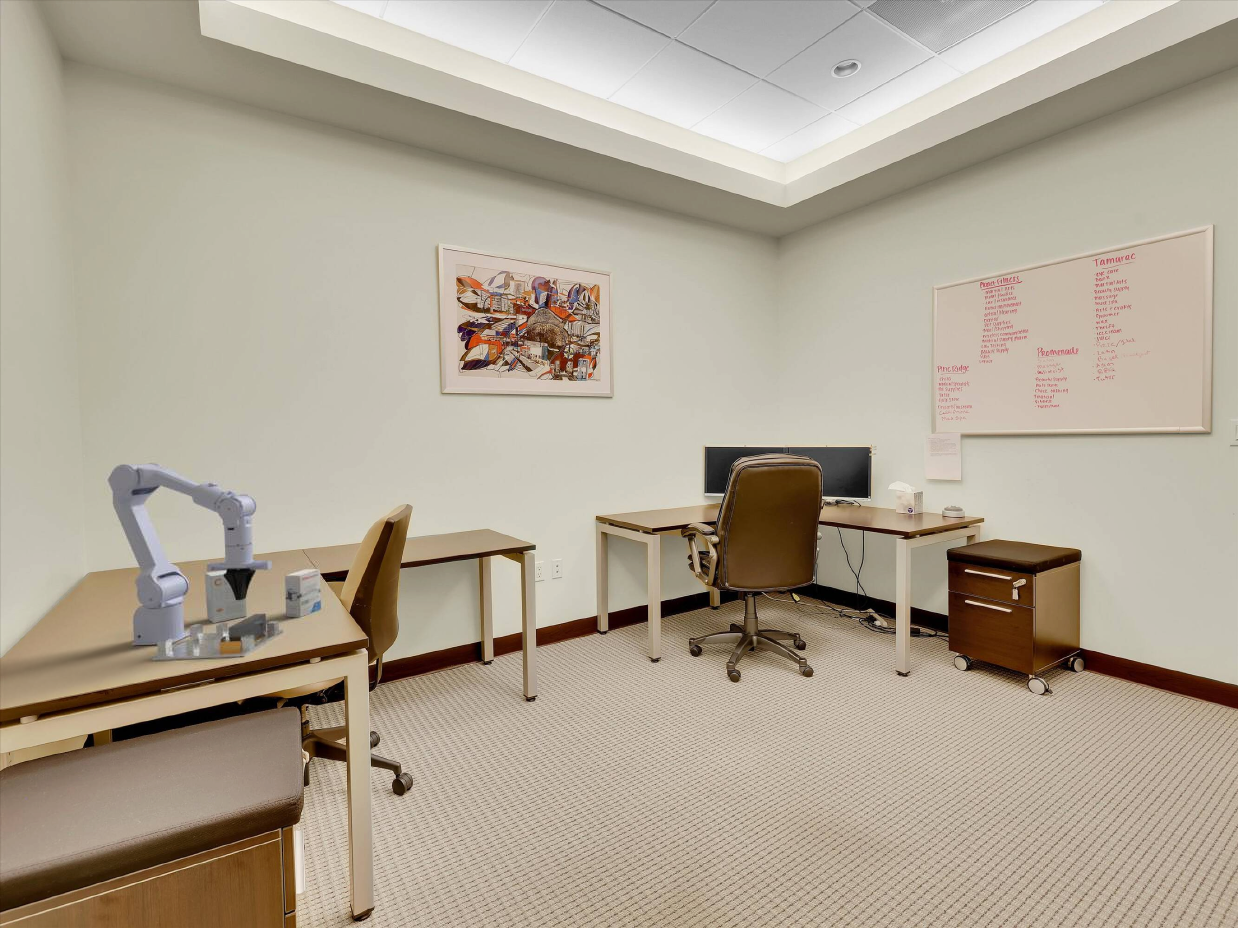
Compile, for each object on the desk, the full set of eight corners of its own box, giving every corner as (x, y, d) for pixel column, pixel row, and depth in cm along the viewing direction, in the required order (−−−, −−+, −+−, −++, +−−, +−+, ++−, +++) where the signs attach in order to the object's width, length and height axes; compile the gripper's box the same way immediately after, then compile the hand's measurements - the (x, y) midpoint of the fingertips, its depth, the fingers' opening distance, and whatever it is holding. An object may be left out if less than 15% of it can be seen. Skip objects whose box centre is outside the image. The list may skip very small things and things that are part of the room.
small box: (240, 612, 169) (238, 567, 168) (247, 616, 165) (245, 570, 164) (206, 619, 163) (204, 572, 162) (213, 623, 159) (210, 575, 158)
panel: (229, 649, 135) (228, 627, 135) (256, 633, 146) (255, 613, 146) (240, 648, 135) (239, 627, 135) (266, 633, 146) (265, 613, 146)
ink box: (307, 608, 172) (305, 568, 171) (322, 609, 171) (321, 568, 170) (285, 617, 163) (283, 575, 163) (301, 617, 162) (299, 575, 162)
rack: (151, 660, 131) (150, 644, 131) (201, 635, 148) (200, 621, 148) (244, 656, 132) (243, 640, 132) (283, 632, 149) (282, 618, 149)
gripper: (277, 541, 149) (279, 594, 150) (218, 542, 148) (220, 595, 149) (262, 545, 142) (264, 601, 142) (200, 547, 141) (202, 603, 142)
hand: (240, 599), depth 145 cm, fingers closed
